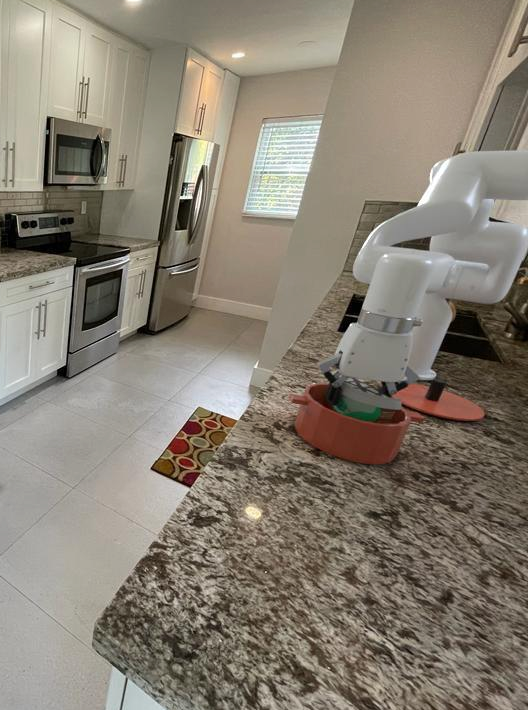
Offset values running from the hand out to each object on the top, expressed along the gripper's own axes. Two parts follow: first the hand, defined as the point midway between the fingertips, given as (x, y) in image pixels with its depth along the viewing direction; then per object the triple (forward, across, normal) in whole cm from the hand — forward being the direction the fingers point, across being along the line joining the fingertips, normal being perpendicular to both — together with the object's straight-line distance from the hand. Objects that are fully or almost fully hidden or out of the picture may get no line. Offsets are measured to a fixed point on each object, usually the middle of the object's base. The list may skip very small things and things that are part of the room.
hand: (353, 405), depth 82 cm
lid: (+7, -27, -25) cm, 37 cm away
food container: (+5, 0, 0) cm, 5 cm away
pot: (+8, 0, 0) cm, 8 cm away
